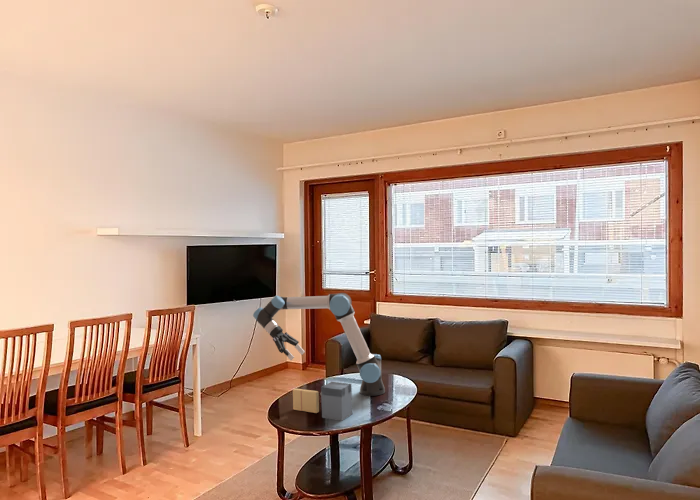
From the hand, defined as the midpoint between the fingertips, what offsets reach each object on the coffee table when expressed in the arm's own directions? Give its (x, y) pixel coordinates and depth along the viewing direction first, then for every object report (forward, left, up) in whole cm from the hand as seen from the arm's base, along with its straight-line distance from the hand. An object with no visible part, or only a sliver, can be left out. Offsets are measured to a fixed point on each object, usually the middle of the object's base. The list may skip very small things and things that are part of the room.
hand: (298, 356), depth 288 cm
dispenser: (-21, +26, -27) cm, 43 cm away
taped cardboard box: (-5, +17, -26) cm, 31 cm away
